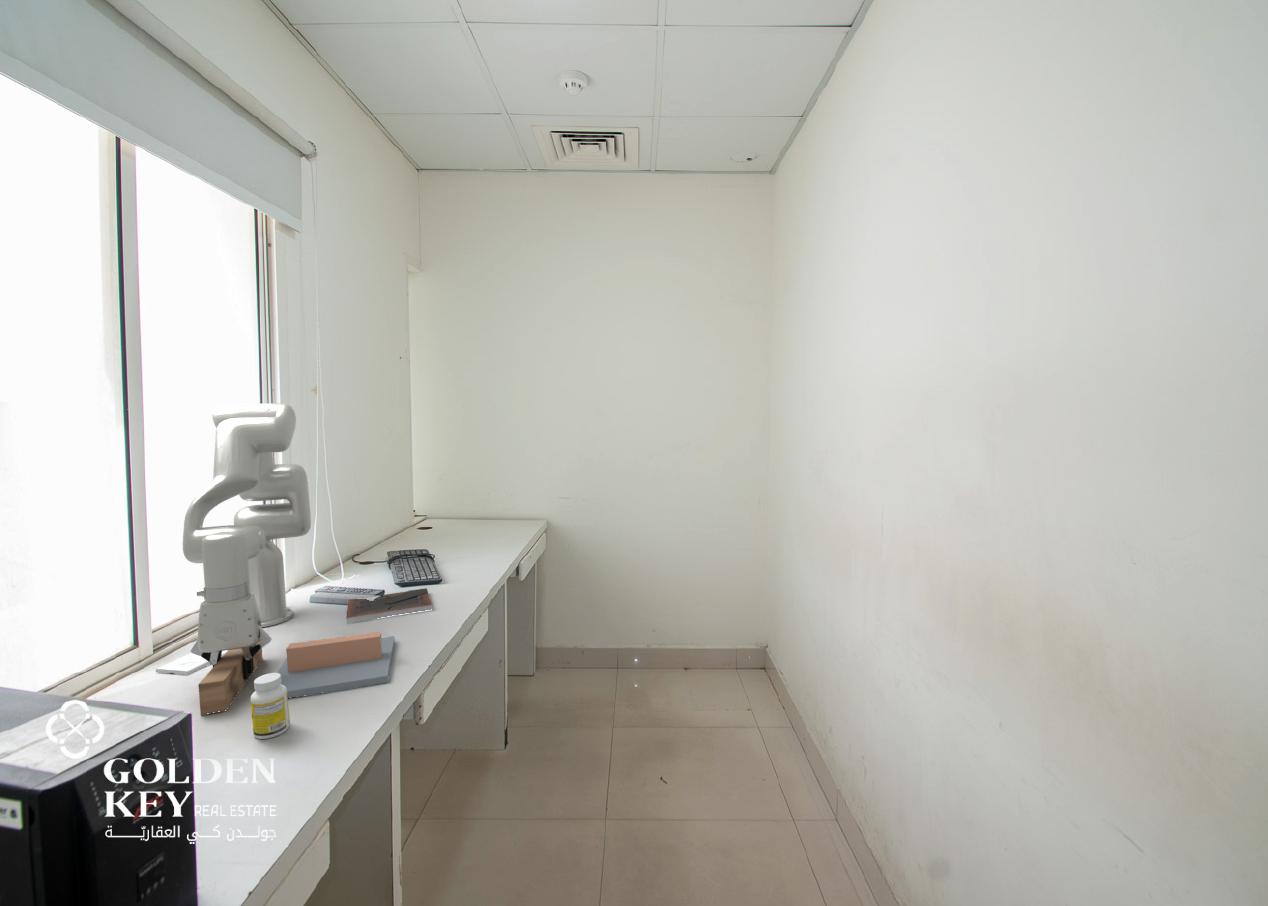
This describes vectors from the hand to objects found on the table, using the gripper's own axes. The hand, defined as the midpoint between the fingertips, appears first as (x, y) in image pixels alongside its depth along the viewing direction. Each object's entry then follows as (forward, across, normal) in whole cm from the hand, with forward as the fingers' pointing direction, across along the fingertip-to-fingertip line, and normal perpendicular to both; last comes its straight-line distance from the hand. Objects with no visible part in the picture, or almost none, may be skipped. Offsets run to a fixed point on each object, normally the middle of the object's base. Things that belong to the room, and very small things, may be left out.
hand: (234, 677), depth 117 cm
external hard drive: (+2, -12, +16) cm, 20 cm away
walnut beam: (+1, 0, 0) cm, 1 cm away
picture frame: (+2, +27, +38) cm, 47 cm away
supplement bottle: (+2, +12, -23) cm, 26 cm away
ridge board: (+1, +19, 0) cm, 19 cm away
